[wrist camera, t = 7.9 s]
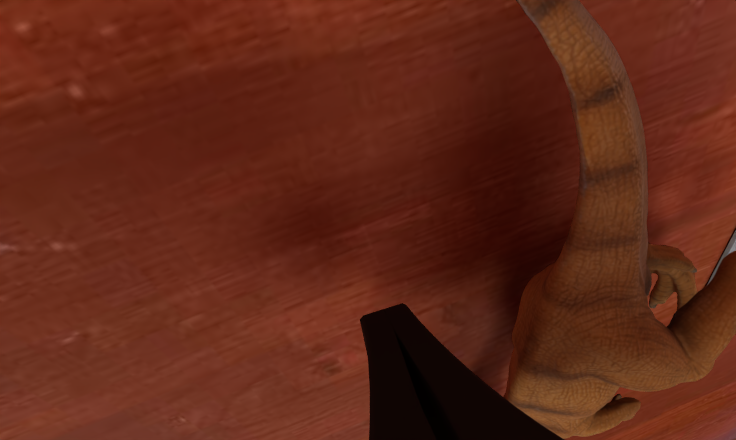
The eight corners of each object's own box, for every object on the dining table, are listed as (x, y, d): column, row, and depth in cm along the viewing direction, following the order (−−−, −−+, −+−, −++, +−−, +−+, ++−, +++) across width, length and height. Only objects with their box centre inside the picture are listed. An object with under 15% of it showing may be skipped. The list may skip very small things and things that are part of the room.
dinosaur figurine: (589, 379, 21) (391, 440, 19) (823, -168, 9) (359, -166, 7) (707, 516, 16) (448, 624, 14) (1673, -394, 4) (732, -693, 2)
